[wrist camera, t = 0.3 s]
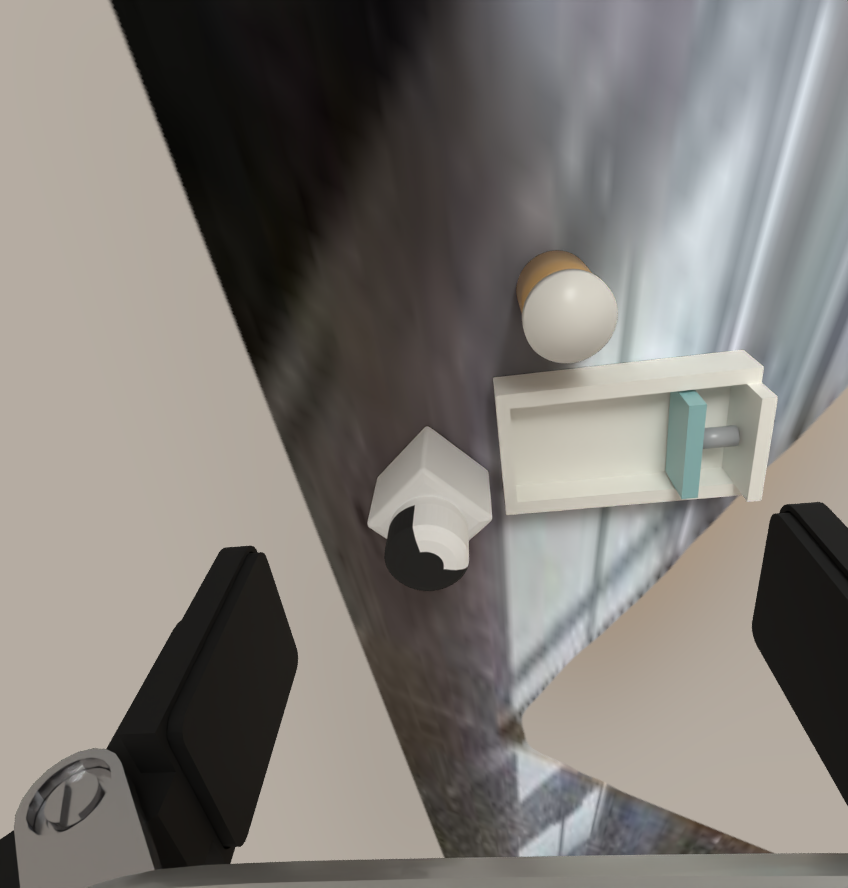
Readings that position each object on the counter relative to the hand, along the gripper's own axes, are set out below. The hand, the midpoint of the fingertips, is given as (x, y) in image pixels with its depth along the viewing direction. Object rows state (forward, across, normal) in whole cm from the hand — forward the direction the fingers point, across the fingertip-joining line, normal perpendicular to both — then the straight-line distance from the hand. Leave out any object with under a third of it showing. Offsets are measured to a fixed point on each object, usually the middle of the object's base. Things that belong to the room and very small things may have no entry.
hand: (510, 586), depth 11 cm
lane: (+36, -10, +16) cm, 40 cm away
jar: (+36, -6, +4) cm, 36 cm away
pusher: (+34, -16, +16) cm, 41 cm away
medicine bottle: (+36, +5, +19) cm, 41 cm away
